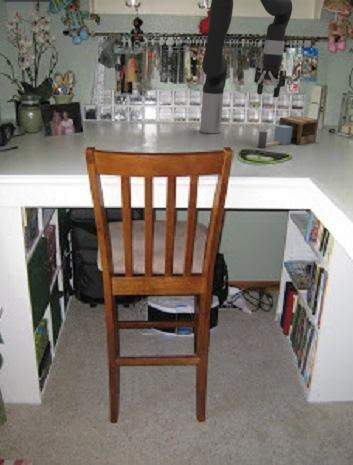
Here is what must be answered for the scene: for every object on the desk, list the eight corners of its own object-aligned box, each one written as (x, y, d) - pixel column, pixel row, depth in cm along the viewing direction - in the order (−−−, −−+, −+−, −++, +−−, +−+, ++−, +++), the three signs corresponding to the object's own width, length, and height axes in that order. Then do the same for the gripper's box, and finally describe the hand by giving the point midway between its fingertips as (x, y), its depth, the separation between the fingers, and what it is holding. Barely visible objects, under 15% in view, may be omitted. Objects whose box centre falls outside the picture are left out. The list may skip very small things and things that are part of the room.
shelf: (293, 136, 210) (296, 115, 207) (315, 141, 203) (318, 119, 199) (277, 139, 203) (279, 117, 200) (298, 144, 196) (301, 121, 192)
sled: (280, 141, 201) (282, 124, 198) (290, 143, 198) (292, 126, 195) (254, 146, 190) (256, 129, 187) (264, 148, 187) (266, 131, 184)
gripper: (293, 54, 181) (287, 98, 187) (266, 51, 191) (260, 92, 197) (280, 54, 176) (274, 98, 183) (253, 51, 186) (248, 93, 193)
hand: (267, 95), depth 190 cm, fingers open, 8 cm apart
